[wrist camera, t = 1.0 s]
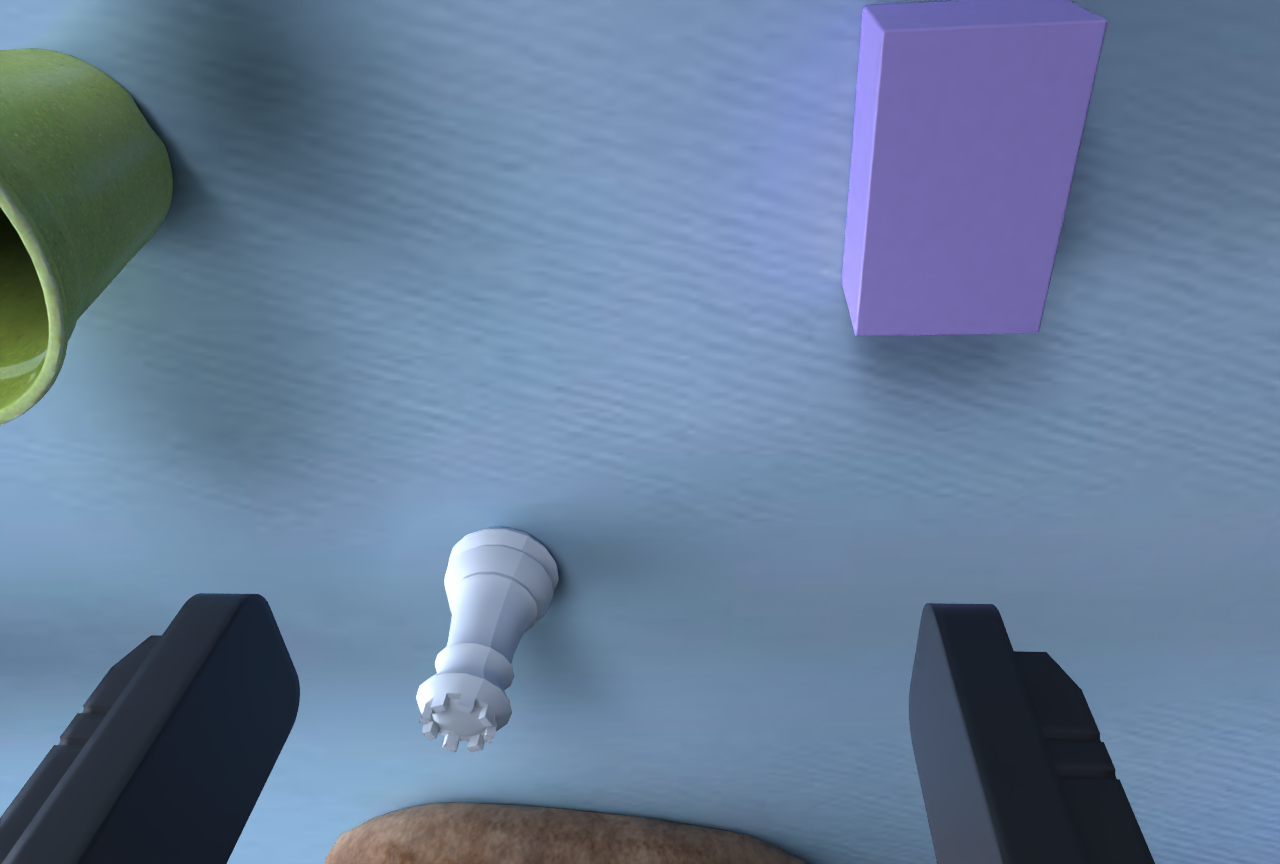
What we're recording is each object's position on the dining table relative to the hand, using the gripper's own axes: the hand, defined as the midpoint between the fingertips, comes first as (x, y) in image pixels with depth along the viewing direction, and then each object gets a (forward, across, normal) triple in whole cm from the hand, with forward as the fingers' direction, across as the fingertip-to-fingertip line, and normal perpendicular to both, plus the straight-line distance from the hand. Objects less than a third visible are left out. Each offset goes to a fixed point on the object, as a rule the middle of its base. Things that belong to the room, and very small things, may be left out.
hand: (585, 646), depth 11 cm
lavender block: (+18, -8, 0) cm, 20 cm away
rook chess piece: (+19, +7, +16) cm, 26 cm away
